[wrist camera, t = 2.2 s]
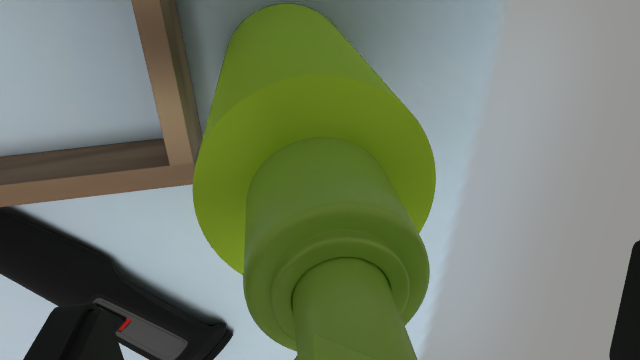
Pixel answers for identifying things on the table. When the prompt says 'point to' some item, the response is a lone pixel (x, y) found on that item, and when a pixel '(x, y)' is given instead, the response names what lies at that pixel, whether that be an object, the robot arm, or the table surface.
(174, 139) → the frame
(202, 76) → the table surface
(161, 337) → the electric trimmer
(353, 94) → the soap dispenser
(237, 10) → the table surface
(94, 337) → the robot arm
